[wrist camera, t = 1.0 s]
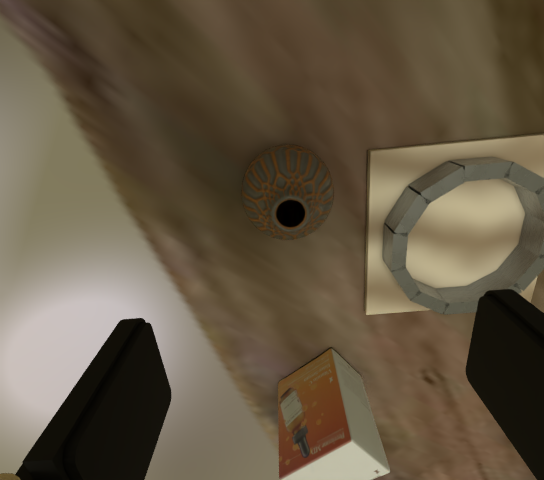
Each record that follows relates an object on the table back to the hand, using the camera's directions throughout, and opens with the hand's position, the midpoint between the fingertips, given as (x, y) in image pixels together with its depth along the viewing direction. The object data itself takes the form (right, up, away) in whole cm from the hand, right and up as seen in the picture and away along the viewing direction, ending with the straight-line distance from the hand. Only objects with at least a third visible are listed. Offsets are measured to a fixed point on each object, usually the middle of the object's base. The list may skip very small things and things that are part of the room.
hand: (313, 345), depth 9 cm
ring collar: (+15, +4, +19) cm, 25 cm away
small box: (+4, -13, +28) cm, 31 cm away
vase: (0, +8, +19) cm, 20 cm away
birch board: (+15, +4, +20) cm, 26 cm away
